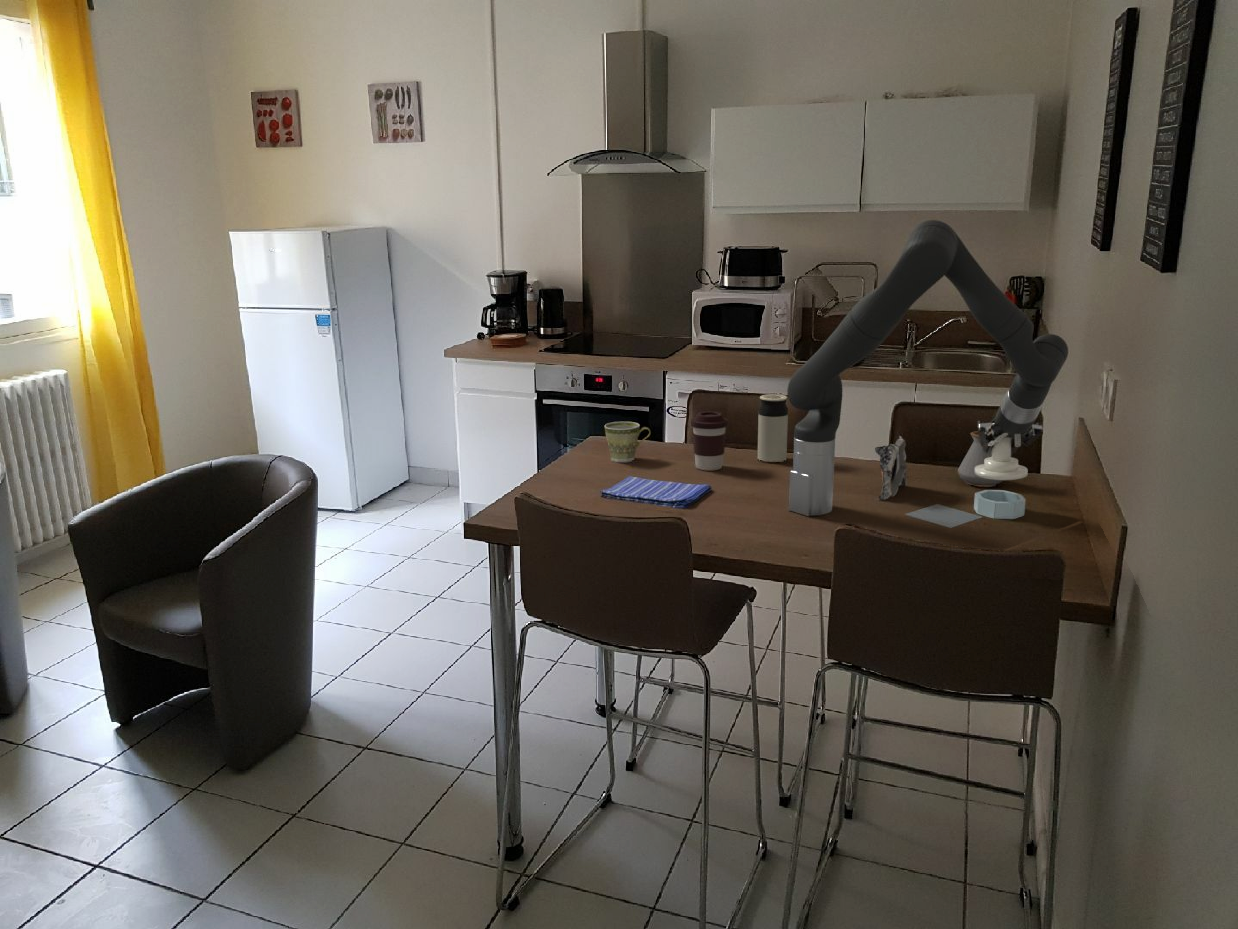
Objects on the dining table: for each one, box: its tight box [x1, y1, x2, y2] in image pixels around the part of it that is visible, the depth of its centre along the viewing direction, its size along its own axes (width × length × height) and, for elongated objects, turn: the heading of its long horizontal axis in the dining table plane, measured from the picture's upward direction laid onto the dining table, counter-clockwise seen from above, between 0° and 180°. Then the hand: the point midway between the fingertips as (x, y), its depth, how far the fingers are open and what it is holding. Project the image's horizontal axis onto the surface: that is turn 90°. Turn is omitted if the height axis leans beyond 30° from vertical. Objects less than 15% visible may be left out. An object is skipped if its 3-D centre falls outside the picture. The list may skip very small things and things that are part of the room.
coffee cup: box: [690, 411, 729, 472], centre depth 248 cm, size 10×10×15 cm
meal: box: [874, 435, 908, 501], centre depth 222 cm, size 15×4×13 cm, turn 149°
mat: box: [904, 503, 983, 529], centre depth 206 cm, size 12×12×1 cm
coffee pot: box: [957, 430, 1004, 485], centre depth 225 cm, size 21×12×15 cm, turn 156°
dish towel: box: [600, 475, 712, 509], centre depth 227 cm, size 17×24×3 cm
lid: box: [975, 437, 1029, 481], centre depth 205 cm, size 11×11×10 cm
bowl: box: [973, 489, 1027, 520], centre depth 208 cm, size 10×10×4 cm
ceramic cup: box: [604, 421, 652, 463], centre depth 258 cm, size 13×10×10 cm
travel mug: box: [757, 393, 789, 462], centre depth 254 cm, size 8×8×18 cm
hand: (998, 450), depth 207 cm, fingers closed on lid, 4 cm apart
